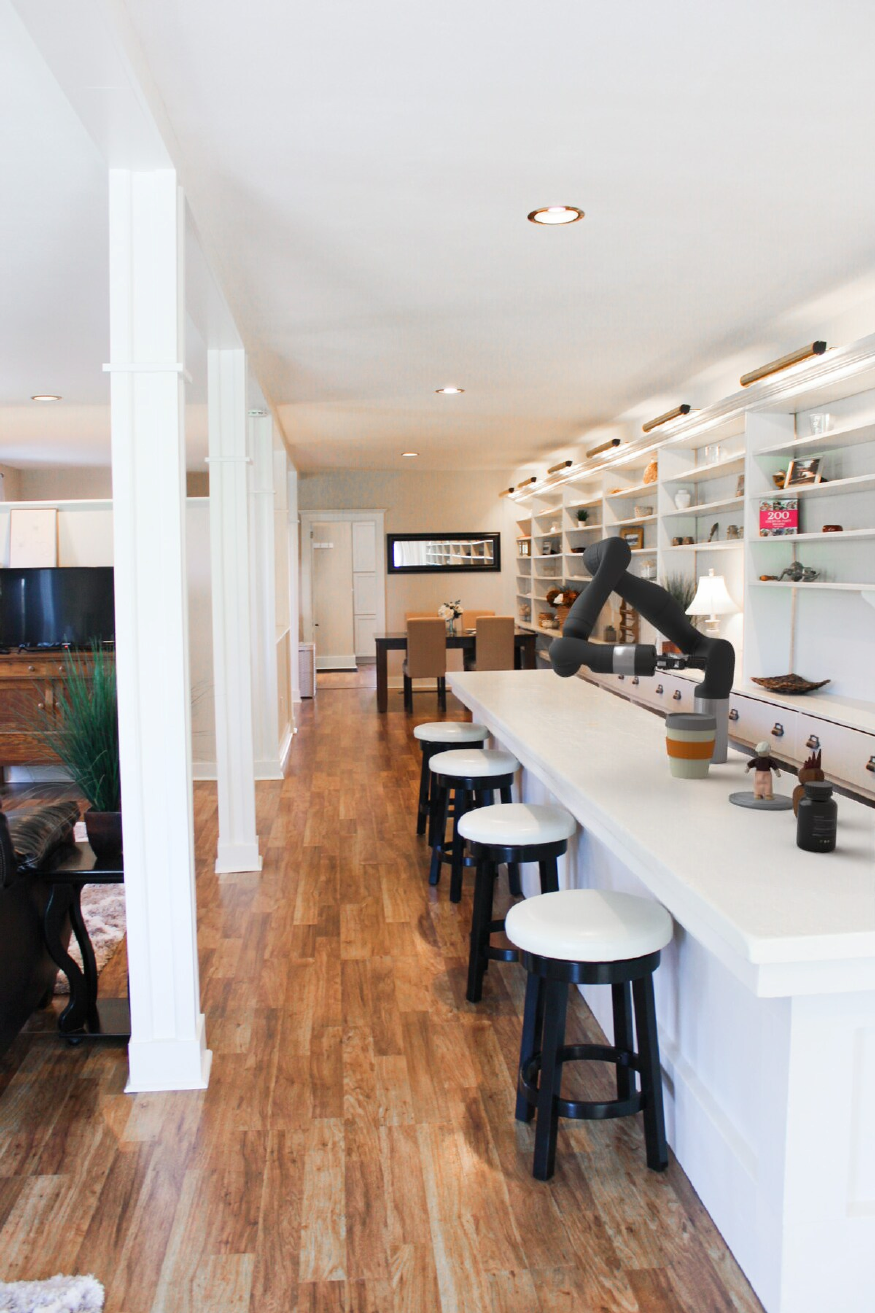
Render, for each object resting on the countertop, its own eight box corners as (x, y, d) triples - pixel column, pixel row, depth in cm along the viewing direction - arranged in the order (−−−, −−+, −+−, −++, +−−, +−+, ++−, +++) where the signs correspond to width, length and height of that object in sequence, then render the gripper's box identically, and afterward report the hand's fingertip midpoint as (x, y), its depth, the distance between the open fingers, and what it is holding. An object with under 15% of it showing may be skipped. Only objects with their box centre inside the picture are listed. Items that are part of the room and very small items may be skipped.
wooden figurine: (822, 818, 194) (825, 746, 193) (831, 826, 188) (834, 752, 187) (788, 817, 195) (791, 746, 193) (796, 824, 189) (799, 751, 188)
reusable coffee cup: (659, 777, 232) (661, 717, 231) (667, 768, 244) (669, 711, 242) (712, 782, 227) (714, 721, 226) (717, 772, 239) (719, 714, 238)
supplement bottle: (789, 843, 176) (792, 780, 175) (824, 842, 176) (827, 779, 175) (806, 854, 169) (809, 788, 168) (843, 853, 169) (846, 788, 168)
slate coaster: (729, 792, 216) (729, 789, 216) (794, 798, 212) (794, 794, 212) (728, 806, 203) (728, 802, 203) (797, 812, 199) (797, 808, 199)
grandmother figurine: (779, 797, 208) (781, 741, 207) (780, 801, 205) (782, 744, 204) (742, 794, 211) (745, 739, 210) (743, 798, 207) (745, 741, 206)
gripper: (631, 646, 213) (705, 648, 208) (638, 642, 226) (708, 644, 221) (630, 678, 213) (704, 682, 208) (637, 673, 227) (707, 675, 222)
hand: (706, 662), depth 215 cm, fingers open, 8 cm apart
